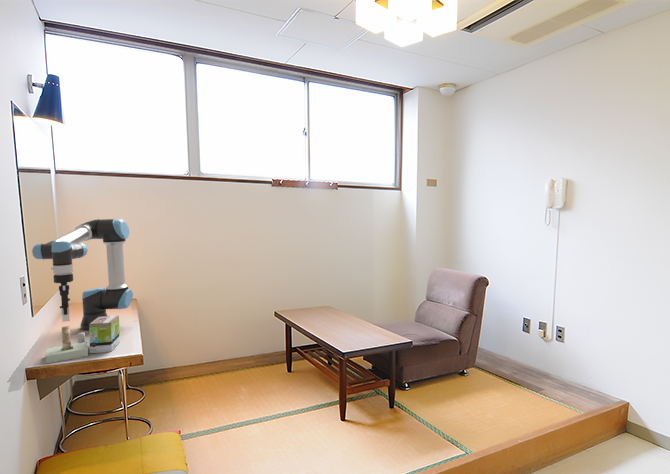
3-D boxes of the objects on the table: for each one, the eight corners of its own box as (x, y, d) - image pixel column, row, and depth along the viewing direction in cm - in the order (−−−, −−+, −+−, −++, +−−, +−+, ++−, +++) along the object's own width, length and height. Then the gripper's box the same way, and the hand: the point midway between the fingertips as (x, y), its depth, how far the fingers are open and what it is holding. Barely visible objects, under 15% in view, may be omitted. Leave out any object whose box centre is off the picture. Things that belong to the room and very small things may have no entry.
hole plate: (87, 348, 192) (86, 341, 191) (88, 355, 182) (87, 348, 182) (47, 355, 182) (46, 348, 182) (46, 363, 173) (45, 356, 172)
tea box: (112, 351, 187) (111, 322, 186) (89, 354, 184) (87, 324, 183) (120, 342, 201) (119, 314, 201) (98, 344, 199) (97, 316, 198)
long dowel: (71, 354, 184) (69, 325, 183) (71, 356, 181) (69, 327, 181) (63, 355, 182) (61, 326, 182) (63, 357, 180) (61, 328, 179)
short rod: (85, 345, 197) (85, 331, 196) (85, 347, 194) (85, 333, 194) (78, 346, 195) (77, 333, 195) (78, 348, 192) (77, 334, 192)
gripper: (53, 271, 188) (56, 313, 189) (52, 278, 167) (55, 325, 169) (72, 269, 192) (74, 311, 194) (73, 276, 172) (76, 322, 173)
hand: (66, 318), depth 181 cm, fingers open, 13 cm apart
